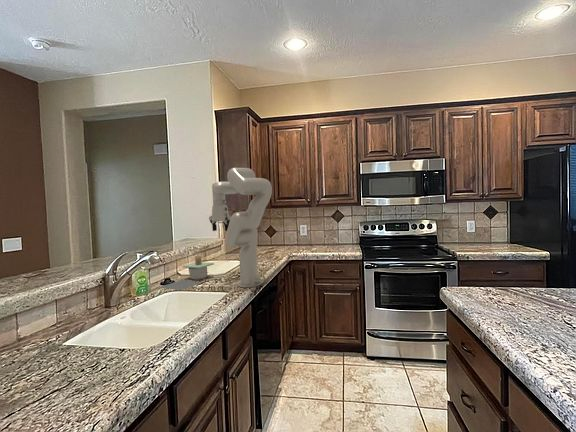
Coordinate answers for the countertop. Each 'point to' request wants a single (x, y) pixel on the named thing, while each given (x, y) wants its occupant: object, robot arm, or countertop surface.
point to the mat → (180, 285)
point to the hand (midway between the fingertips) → (220, 230)
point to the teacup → (198, 273)
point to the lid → (198, 263)
